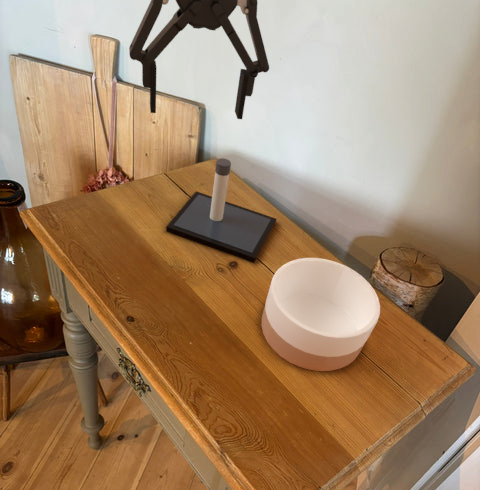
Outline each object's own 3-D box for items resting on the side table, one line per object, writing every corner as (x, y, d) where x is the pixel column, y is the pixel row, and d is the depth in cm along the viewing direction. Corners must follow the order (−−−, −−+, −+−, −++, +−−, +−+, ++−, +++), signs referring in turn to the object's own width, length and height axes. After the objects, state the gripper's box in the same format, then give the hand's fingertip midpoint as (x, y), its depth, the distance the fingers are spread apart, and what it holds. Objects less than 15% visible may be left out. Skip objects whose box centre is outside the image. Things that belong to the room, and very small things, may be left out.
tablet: (166, 231, 88) (166, 226, 87) (195, 196, 97) (196, 190, 96) (254, 263, 86) (255, 257, 85) (275, 223, 95) (277, 218, 94)
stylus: (207, 218, 90) (214, 162, 82) (212, 211, 92) (219, 156, 83) (219, 223, 90) (227, 167, 81) (224, 216, 92) (233, 161, 83)
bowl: (241, 336, 73) (250, 300, 67) (288, 279, 84) (299, 243, 78) (339, 390, 69) (358, 357, 63) (375, 322, 80) (394, 288, 74)
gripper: (297, -50, 63) (267, 107, 78) (106, -81, 57) (114, 95, 72) (312, -36, 58) (277, 128, 73) (105, -68, 52) (114, 117, 68)
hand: (196, 112), depth 73 cm, fingers open, 13 cm apart
